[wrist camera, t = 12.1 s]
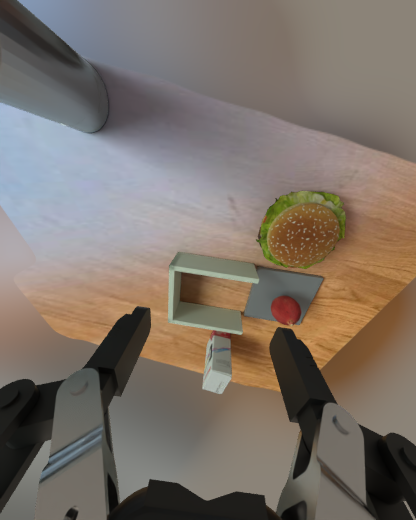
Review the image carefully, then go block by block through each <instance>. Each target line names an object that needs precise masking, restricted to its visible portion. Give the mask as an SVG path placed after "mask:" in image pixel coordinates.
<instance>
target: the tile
mask: <svg viewBox="0 0 416 520" xmlns="http://www.w3.org/2000/svg"><path fill="white" fill-rule="evenodd" d="M256 272H257V274H258V277H259V282H258V284H256V283H253V284H252V287H251V290H250V294H249V297H248V300H247V304H246V307H245V311H244V316H247V317H253V318H259V319H265V320H271V321H277V320H276V319H275V318H274V317H273V315H272V312H271V304H272V301H273V300H274V299H275V298H277V297H279V296H289V297H291V298H293V299H294V300H296V301H297V302H298V303H299V305H300V308H301V317H300V319H299V321H298V322H297V323H296V325H300V323H301V321H302V319H303V317H304V315H305V313H306V311H307V310H308V308H309V306H310V304H311V302H312V300H313V298H314V296H315V294H316V292H317V290H318V288H319V286H320V285H321V283H322V281H323V279H324V278H323V277H322V276H318V275H311V274H305V273H298V272H292V271H285V270H279V269H272V268H266V267H259V266H258V267H257V270H256Z"/></svg>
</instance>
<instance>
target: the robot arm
mask: <svg viewBox="0 0 416 520" xmlns="http://www.w3.org/2000/svg"><path fill="white" fill-rule="evenodd" d="M0 102H1V103H4V104H6V105H9V106H12V107H15V108H18V109H20V110H23V111H26V112H29V113H32V114H34V115H37V116H40V117H43V118H46V119H48V120H51V121H54V122H57V123H59V124H62V125H65V126H68V127H71V128H73V129H76V130H79V131H82V132H86V133H92V132H95V131H98V130H99V129H100V128H101V127H102V126H103V125H104V123H105V122H106V119H107V116H108V109H109V108H108V97H107V92H106V89H105V86H104V83H103V81H102V79H101V78H100V76H99V74H98V73H97V72H96V70H95V69H94V68H93V67H92V66H91V65H90V64H89V63H88V62H87V61H86V60H85V59H84V58H82V57H81V56H80V55H79V54H78V53H77V52H76V51H74V50H73V49H72V48H71V47H70V46H69V45H68V44H67V43H66V42H64V41H63V40H62V39H61V38H60V37H59V36H57V35H56V34H55V33H54V32H53V31H52V30H51V29H50V28H48V27H47V26H46V25H45V24H44V23H43V22H41V21H40V20H39V19H38V18H37V17H35V15H33V14H32V13H31V12H30V11H29V10H28V9H27V8H25V7H24V6H23V5H22V4H21V3H20V2H19V1H17V0H0ZM150 328H151V315H150V308H146V307H139V306H137V307H136V308H135V309H134V311H133V313H132V314H131V315H130V314H125V315H124V316H123V317H121V318H120V319H119V320H118V321H117V322H116V323H115V325H114V326H113V328H112V330H110V332H109V333H108V335H107V337H105V339H104V340H103V342H102V343H101V344H100V346H99V347H98V349H97V350H96V351H95V353H94V354H93V356H92V357H91V358H90V360H89V361H88V362H87V364H86V365H85V366H84V367H83V368H82V369H81V370H79V371H76V372H75V373H73V374H72V375H70V376H69V377H68V378H67V379H64V380H61V381H56V382H51V383H46V384H42V385H35V384H34V382H33V381H31V380H29V379H22V380H17V381H15V382H12V383H10V384H8V385H6V386H4V387H2V388H1V389H0V513H1V512H2V510H3V508H4V507H5V505H6V503H7V502H8V500H9V499H10V497H11V495H12V493H13V492H14V490H15V489H16V487H17V486H18V484H19V482H20V481H21V479H22V478H23V476H24V474H25V472H26V470H27V469H28V468H29V466H30V465H31V463H32V461H33V460H34V458H35V457H36V455H37V453H38V452H39V450H40V448H41V446H42V445H43V443H44V442H45V441H47V440H51V448H50V456H49V461H48V464H47V465H46V466H45V468H44V469H43V471H42V474H41V478H40V481H39V487H38V494H37V501H36V509H35V517H34V520H413V518H412V517H411V515H410V513H409V511H408V509H407V507H406V505H405V504H404V502H403V501H406V502H407V503H408V505H409V507H410V509H411V511H412V513H413V514H414V516H415V518H416V446H415V445H414V444H413V443H411V442H410V441H409V440H407V439H406V438H405V437H403V436H401V435H399V434H396V433H389V434H387V435H386V436H384V437H383V436H381V435H379V434H377V433H375V432H373V431H371V430H369V429H367V428H365V427H363V426H361V425H359V424H358V423H357V422H356V421H355V419H354V418H353V417H352V416H351V414H350V413H349V412H347V411H346V410H345V409H344V408H342V407H341V406H339V405H338V404H337V402H336V401H335V399H334V397H333V395H332V393H331V391H330V389H329V387H328V385H327V384H326V382H325V380H324V378H323V376H322V374H321V372H320V370H319V368H317V364H316V362H315V361H314V360H313V357H312V355H311V353H310V351H309V349H308V348H307V346H306V345H305V344H304V343H303V342H302V341H301V340H299V339H297V338H296V336H295V334H294V332H293V330H292V329H287V328H281V327H278V328H277V329H276V331H275V334H274V336H273V338H272V340H271V342H270V355H271V358H272V362H273V365H274V369H275V372H276V375H277V379H278V382H279V386H280V389H281V393H282V396H283V400H284V403H285V407H286V410H287V413H288V417H289V420H290V422H295V423H299V426H300V429H301V430H300V432H299V435H298V439H297V444H296V448H295V452H294V456H293V460H292V464H291V468H290V473H289V477H288V480H287V482H286V485H285V487H284V488H283V490H282V493H281V496H280V498H279V502H278V506H277V510H276V513H275V512H274V511H273V510H272V509H271V508H269V507H268V506H267V505H266V503H265V497H264V495H258V494H250V493H243V492H233V493H230V494H227V495H224V496H221V497H218V498H215V499H212V500H209V501H206V500H203V499H202V498H200V497H198V496H197V495H196V494H194V493H192V492H191V491H189V490H188V489H186V488H185V487H183V486H181V485H180V484H178V483H172V482H165V481H159V480H151V479H150V480H149V484H148V487H145V488H142V489H140V490H138V491H136V492H134V493H133V494H131V495H130V496H128V497H127V498H126V499H125V500H123V501H122V502H121V503H120V497H119V488H118V479H117V472H116V465H115V460H114V453H113V445H112V435H111V426H110V416H109V408H108V407H109V404H110V402H111V400H112V398H113V396H120V397H121V395H122V393H123V391H124V388H125V386H126V384H127V382H128V380H129V377H130V375H131V373H132V371H133V368H134V366H135V364H136V362H137V360H138V357H139V355H140V353H141V351H142V349H143V346H144V344H145V342H146V340H147V337H148V335H149V332H150Z"/></svg>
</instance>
